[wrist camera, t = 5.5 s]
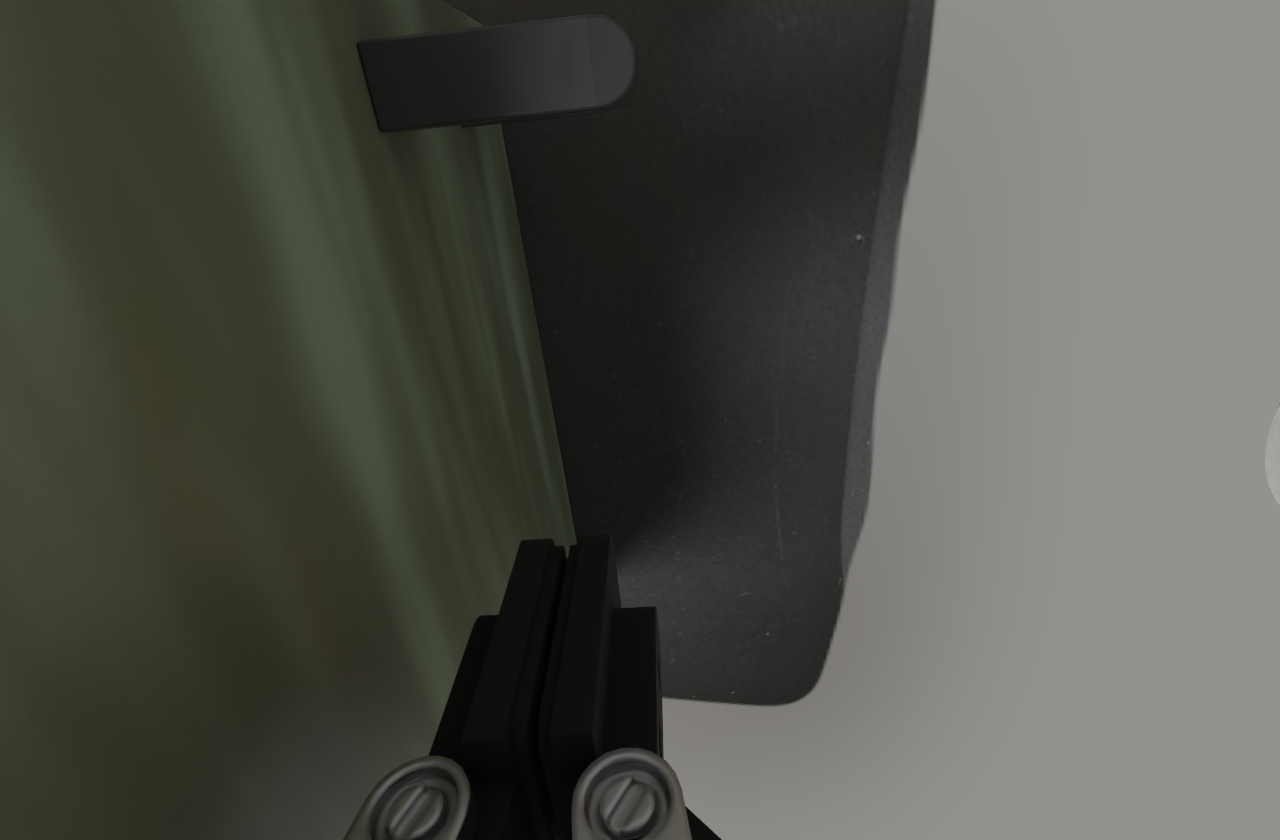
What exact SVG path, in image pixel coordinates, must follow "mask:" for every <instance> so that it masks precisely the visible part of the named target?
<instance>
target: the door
mask: <svg viewBox="0 0 1280 840" xmlns="http://www.w3.org/2000/svg"><path fill="white" fill-rule="evenodd" d="M636 84H637V77H636V53H635V49H634V45H633V43H632V40H631V38H630V36H629V34H628V33H627V32H626V30H625V29H624V28H623V27H622V26H621V25H620V24H619V23H618V22H617V21H615V20H614V19H612V18H610V17H608V16H606V15H602V14H583V15H575V16H566V17H558V18H549V19H541V20H532V21H524V22H515V23H507V24H498V25H490V26H483V25H482V24H481V23H479V22H478V21H476V20H474V19H473V18H471V17H469V16H467V15H466V14H464V13H462V12H461V11H459V10H457V9H456V8H454V7H452V6H451V5H449V4H447V3H446V2H444V1H442V0H0V840H343V838H344V836H345V835H346V833H347V831H348V829H349V828H350V826H351V824H352V822H353V820H354V819H355V817H356V815H357V813H358V812H359V810H360V808H361V806H362V804H363V803H364V801H365V799H366V798H367V797H368V795H369V794H370V792H371V791H372V790H373V788H374V787H375V785H376V784H377V783H378V782H379V781H380V780H382V779H383V778H384V777H385V776H386V775H387V774H388V773H389V772H390V771H392V770H394V769H395V768H397V767H399V766H400V765H402V764H404V763H405V762H407V761H410V760H413V759H416V758H419V757H423V756H429V753H430V750H431V747H432V744H433V741H434V738H435V735H436V732H437V729H438V727H439V724H440V721H441V718H442V715H443V712H444V709H445V706H446V703H447V700H448V698H449V695H450V692H451V689H452V686H453V683H454V680H455V677H456V674H457V672H458V669H459V666H460V663H461V660H462V657H463V654H464V651H465V648H466V645H467V643H468V640H469V637H470V634H471V631H472V628H473V625H474V623H475V621H476V619H477V618H478V617H479V616H482V615H498V614H499V611H500V608H501V604H502V601H503V598H504V595H505V591H506V588H507V585H508V581H509V578H510V575H511V571H512V568H513V565H514V561H515V558H516V555H517V552H518V548H519V545H520V543H521V541H522V540H530V539H547V538H552V539H553V541H554V543H555V546H564V547H565V551H566V556H567V559H568V554H569V549H570V546H571V545H577V541H576V535H575V530H574V524H573V519H572V513H571V508H570V502H569V497H568V491H567V486H566V480H565V475H564V469H563V464H562V458H561V453H560V447H559V442H558V436H557V430H556V425H555V419H554V414H553V408H552V403H551V397H550V392H549V386H548V381H547V375H546V370H545V364H544V359H543V353H542V348H541V342H540V337H539V331H538V326H537V320H536V315H535V309H534V303H533V298H532V292H531V287H530V281H529V276H528V270H527V265H526V259H525V254H524V248H523V243H522V237H521V232H520V226H519V221H518V215H517V210H516V204H515V199H514V193H513V188H512V182H511V176H510V171H509V165H508V160H507V154H506V149H505V143H504V138H503V132H502V127H501V124H505V123H514V122H523V121H532V120H541V119H550V118H559V117H568V116H577V115H586V114H595V113H604V112H612V111H618V110H621V109H623V108H624V107H626V106H627V105H628V104H629V103H630V101H631V100H632V98H633V96H634V94H635V91H636Z"/></svg>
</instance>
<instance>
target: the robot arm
mask: <svg viewBox="0 0 1280 840" xmlns="http://www.w3.org/2000/svg"><path fill="white" fill-rule="evenodd" d="M662 719H663V718H662V677H661V657H660V642H659V630H658V619H657V610H656V607H637V608H621V600H620V592H619V584H618V576H617V568H616V560H615V552H614V544H613V538H612V535H599V536H582V537H581V541H580V545H571V546H570V549H569V554H568V559H567V556H566V551H565V547H564V546H555V543H554V541H553V539H552V538H547V539H530V540H522V541H521V543H520V545H519V548H518V552H517V555H516V558H515V561H514V565H513V568H512V571H511V575H510V578H509V581H508V585H507V588H506V591H505V595H504V598H503V601H502V604H501V608H500V611H499V614H498V615H482V616H479V617H478V618H477V619H476V621H475V623H474V625H473V628H472V631H471V634H470V637H469V640H468V643H467V645H466V648H465V651H464V654H463V657H462V660H461V663H460V666H459V669H458V672H457V674H456V677H455V680H454V683H453V686H452V689H451V692H450V695H449V698H448V700H447V703H446V706H445V709H444V712H443V715H442V718H441V721H440V724H439V727H438V729H437V732H436V735H435V738H434V741H433V744H432V747H431V750H430V753H429V756H423V757H419V758H416V759H413V760H410V761H407V762H405V763H404V764H402V765H400V766H399V767H397V768H395V769H394V770H392V771H390V772H389V773H388V774H387V775H386V776H385V777H384V778H383V779H382V780H380V781H379V782H378V783H377V784H376V785H375V787H374V788H373V790H372V791H371V792H370V794H369V795H368V797H367V798H366V799H365V801H364V803H363V804H362V806H361V808H360V810H359V812H358V813H357V815H356V817H355V819H354V820H353V822H352V824H351V826H350V828H349V829H348V831H347V833H346V835H345V836H344V838H343V840H721V839H720V838H719V837H718V836H717V835H716V834H715V833H714V832H713V831H711V829H709V828H708V827H707V826H706V825H705V824H704V823H703V822H702V821H701V820H700V819H699V818H697V817H696V816H695V815H694V814H693V813H692V812H691V811H690V810H689V809H688V808H687V807H686V806H685V803H684V798H683V793H682V789H681V786H680V783H679V781H678V778H677V775H676V773H675V772H674V770H673V769H672V768H671V766H670V765H669V764H668V763H667V762H666V760H664V759H663V720H662Z"/></svg>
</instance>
